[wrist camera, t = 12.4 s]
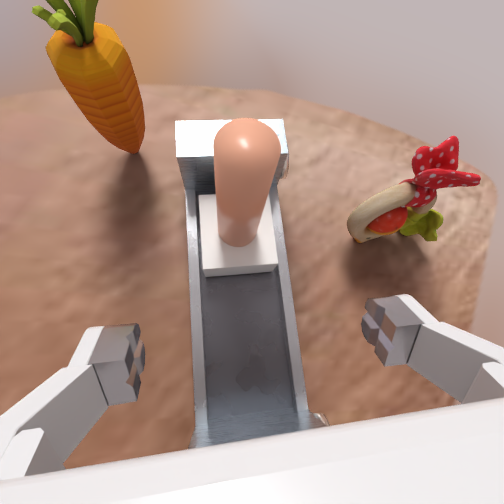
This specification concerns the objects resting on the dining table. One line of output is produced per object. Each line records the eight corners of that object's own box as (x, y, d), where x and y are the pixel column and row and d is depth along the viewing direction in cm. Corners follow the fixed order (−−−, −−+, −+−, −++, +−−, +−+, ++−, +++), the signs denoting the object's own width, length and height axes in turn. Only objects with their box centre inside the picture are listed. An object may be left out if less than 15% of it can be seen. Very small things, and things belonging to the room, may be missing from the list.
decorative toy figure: (362, 271, 29) (455, 233, 27) (374, 258, 19) (525, 196, 17) (336, 217, 31) (422, 178, 29) (333, 177, 20) (468, 112, 18)
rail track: (201, 461, 22) (189, 522, 15) (187, 175, 28) (175, 120, 21) (311, 444, 23) (351, 493, 16) (273, 171, 29) (289, 117, 22)
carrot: (171, 149, 29) (119, -35, 15) (134, 183, 28) (38, 15, 13) (134, 121, 30) (50, -83, 15) (97, 153, 28) (-35, -40, 14)
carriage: (205, 277, 24) (185, 212, 12) (201, 210, 25) (179, 91, 13) (272, 271, 24) (320, 204, 12) (264, 206, 26) (299, 90, 14)
